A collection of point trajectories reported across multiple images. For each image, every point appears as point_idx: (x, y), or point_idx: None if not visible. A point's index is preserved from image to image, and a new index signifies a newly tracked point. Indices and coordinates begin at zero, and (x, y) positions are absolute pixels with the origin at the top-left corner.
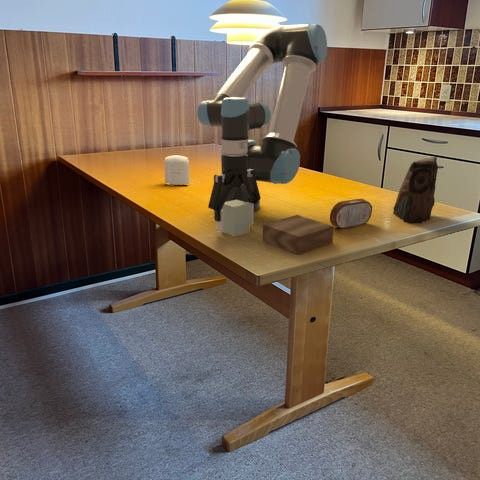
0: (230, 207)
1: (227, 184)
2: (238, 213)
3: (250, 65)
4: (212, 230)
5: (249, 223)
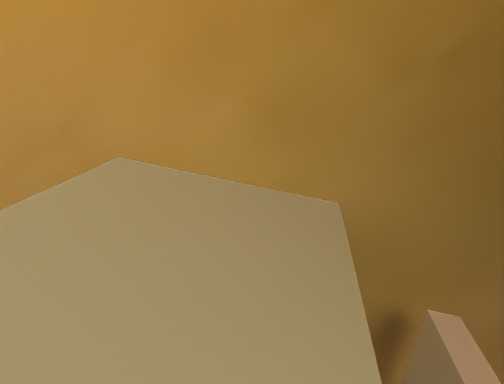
0: None
1: None
2: None
3: None
4: (77, 44)
5: (407, 375)
